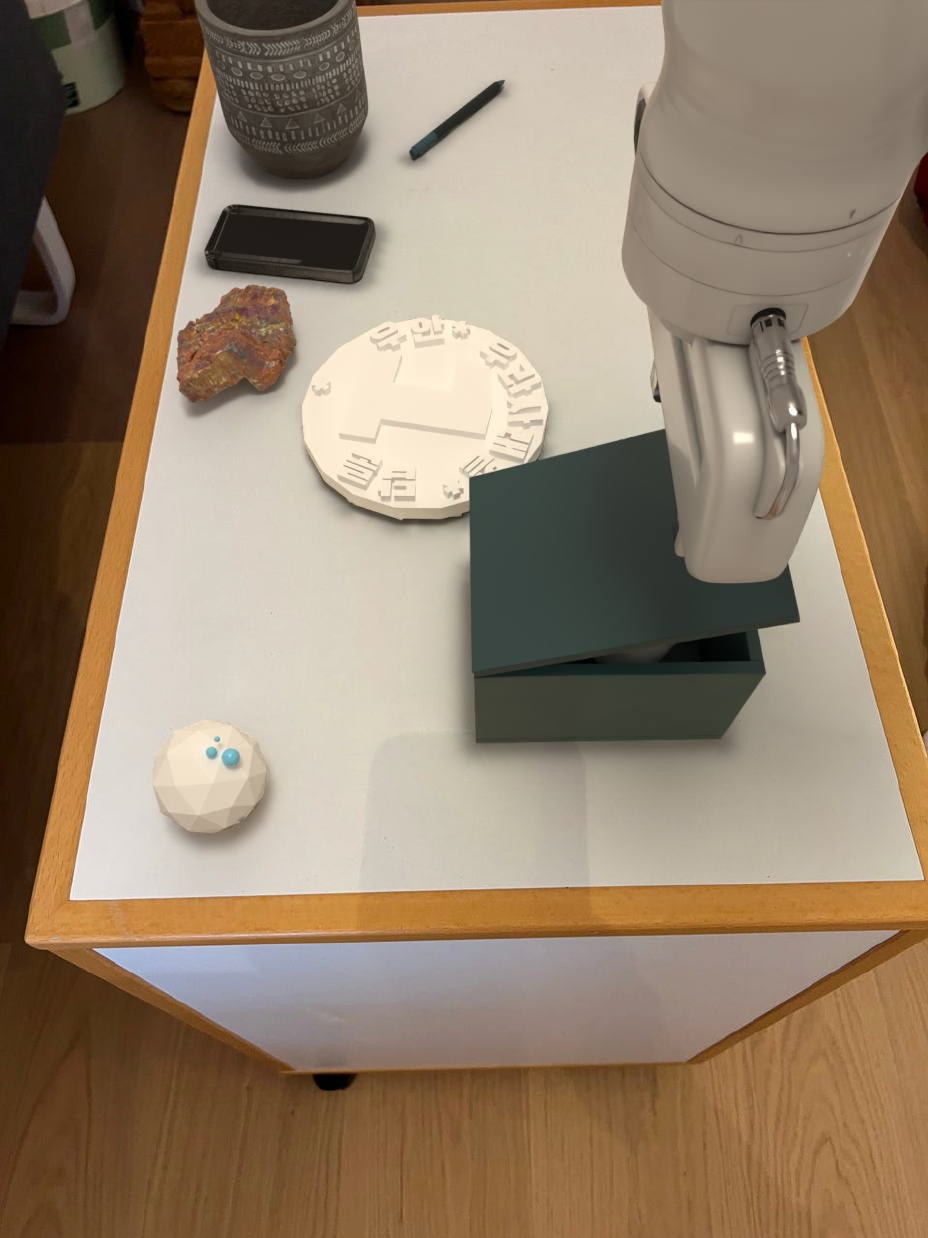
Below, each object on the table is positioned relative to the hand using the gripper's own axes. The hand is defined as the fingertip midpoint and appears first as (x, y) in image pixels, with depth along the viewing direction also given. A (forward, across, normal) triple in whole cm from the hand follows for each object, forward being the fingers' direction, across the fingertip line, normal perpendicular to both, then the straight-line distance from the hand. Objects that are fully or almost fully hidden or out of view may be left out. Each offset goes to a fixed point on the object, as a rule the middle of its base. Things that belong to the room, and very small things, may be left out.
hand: (678, 464), depth 43 cm
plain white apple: (+21, 0, 0) cm, 21 cm away
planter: (+21, +58, +27) cm, 68 cm away
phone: (+21, +43, +27) cm, 55 cm away
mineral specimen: (+21, +28, +30) cm, 46 cm away
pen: (+21, +62, +11) cm, 67 cm away
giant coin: (+21, +21, +14) cm, 33 cm away
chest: (+21, 0, +2) cm, 21 cm away
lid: (+7, 0, +2) cm, 8 cm away
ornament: (+21, -10, +27) cm, 36 cm away
